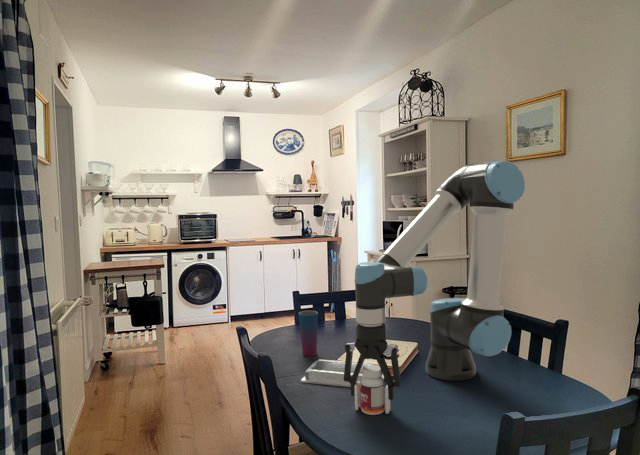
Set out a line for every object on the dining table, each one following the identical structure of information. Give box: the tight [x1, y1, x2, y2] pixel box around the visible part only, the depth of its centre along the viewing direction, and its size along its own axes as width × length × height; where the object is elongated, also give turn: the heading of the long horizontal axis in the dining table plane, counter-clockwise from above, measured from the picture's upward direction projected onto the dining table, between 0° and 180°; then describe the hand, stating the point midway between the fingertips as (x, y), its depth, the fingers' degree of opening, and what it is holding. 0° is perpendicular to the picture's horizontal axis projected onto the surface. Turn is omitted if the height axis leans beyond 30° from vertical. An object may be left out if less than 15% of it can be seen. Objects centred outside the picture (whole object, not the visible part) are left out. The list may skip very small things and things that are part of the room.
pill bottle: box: [360, 364, 385, 416], centre depth 120 cm, size 6×6×11 cm
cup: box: [298, 310, 319, 357], centre depth 166 cm, size 7×7×15 cm
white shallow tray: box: [300, 358, 385, 388], centre depth 144 cm, size 24×14×3 cm, turn 72°
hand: (372, 409), depth 121 cm, fingers open, 7 cm apart
